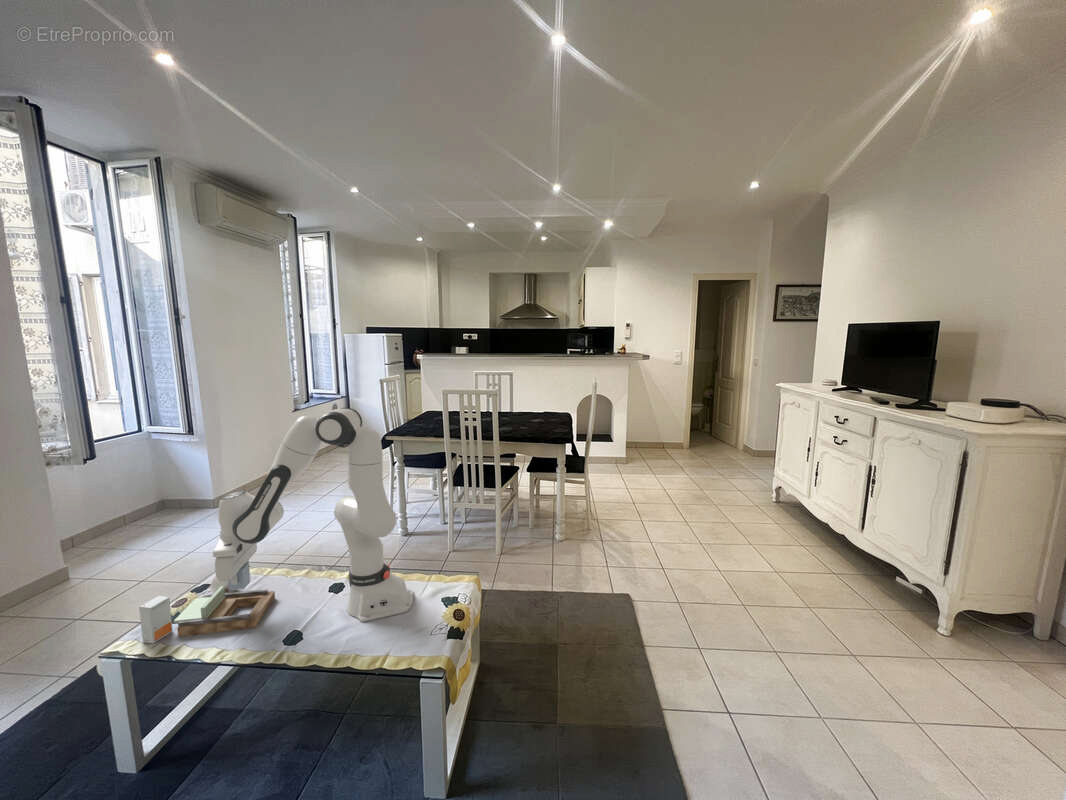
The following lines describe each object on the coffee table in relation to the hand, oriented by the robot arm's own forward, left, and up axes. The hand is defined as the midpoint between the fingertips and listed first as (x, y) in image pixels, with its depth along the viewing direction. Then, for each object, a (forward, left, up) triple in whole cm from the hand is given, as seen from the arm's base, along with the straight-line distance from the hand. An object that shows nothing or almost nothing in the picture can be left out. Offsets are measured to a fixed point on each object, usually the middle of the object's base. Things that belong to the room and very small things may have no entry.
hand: (239, 578), depth 141 cm
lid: (+12, 0, -10) cm, 16 cm away
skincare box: (+21, +7, -14) cm, 26 cm away
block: (0, 0, -3) cm, 3 cm away
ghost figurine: (+11, -14, -14) cm, 22 cm away
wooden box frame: (+4, 0, -13) cm, 14 cm away
